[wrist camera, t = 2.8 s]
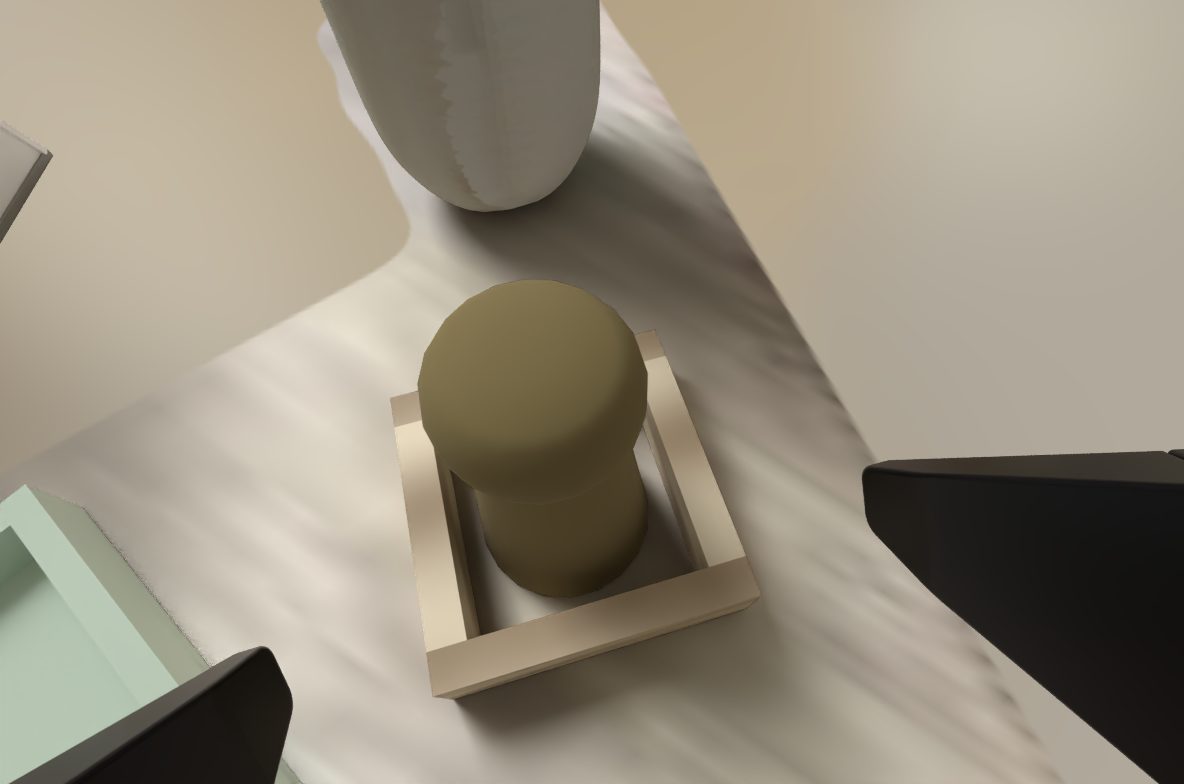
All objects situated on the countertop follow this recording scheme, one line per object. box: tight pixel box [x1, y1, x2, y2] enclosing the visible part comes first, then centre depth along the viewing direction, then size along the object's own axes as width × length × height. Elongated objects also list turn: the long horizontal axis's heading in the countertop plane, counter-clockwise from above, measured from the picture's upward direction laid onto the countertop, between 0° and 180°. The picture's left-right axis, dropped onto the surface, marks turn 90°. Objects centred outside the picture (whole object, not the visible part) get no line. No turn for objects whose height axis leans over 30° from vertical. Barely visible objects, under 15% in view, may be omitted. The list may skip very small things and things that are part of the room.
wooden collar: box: [390, 330, 761, 699], centre depth 21 cm, size 10×10×2 cm
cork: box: [418, 279, 648, 597], centre depth 17 cm, size 6×6×11 cm
